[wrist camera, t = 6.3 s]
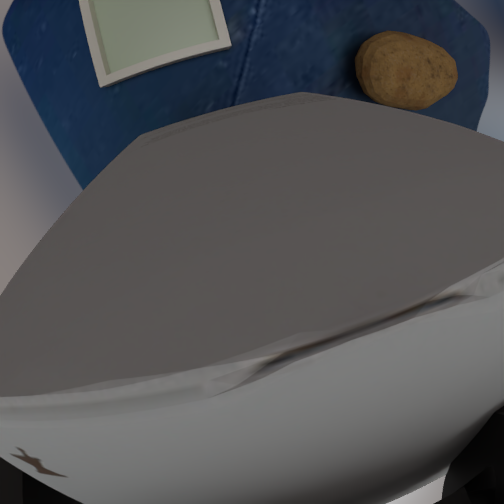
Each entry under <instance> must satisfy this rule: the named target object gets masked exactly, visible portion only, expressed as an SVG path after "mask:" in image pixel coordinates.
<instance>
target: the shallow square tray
mask: <svg viewBox="0 0 504 504" xmlns="http://www.w3.org/2000/svg"><path fill="white" fill-rule="evenodd" d="M79 4H80V9H81V13H82V18H83V23H84V27H85V31H86V36H87V40H88V44H89V48H90V52H91V56H92V60H93V64H94V67H95V71H96V75H97V78H98V82H99V86H100V87H109V86H111V85H114V84H116V83H119V82H121V81H124V80H127V79H129V78H132V77H135V76H137V75H140V74H143V73H146V72H149V71H152V70H155V69H158V68H161V67H164V66H167V65H170V64H173V63H177V62H180V61H184V60H187V59H191V58H194V57H198V56H202V55H206V54H210V53H214V52H218V51H222V50H227V49H230V47H231V46H232V45H231V41H230V38H229V34H228V30H227V26H226V22H225V18H224V15H223V11H222V7H221V3H220V0H79Z"/></svg>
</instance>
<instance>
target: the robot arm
mask: <svg viewBox="0 0 504 504" xmlns="http://www.w3.org/2000/svg"><path fill="white" fill-rule="evenodd" d="M0 504H83V503H81V502H79V501H77V500H75V499H73V498H71V497H69V496H67V495H65V494H63V493H61V492H59V491H57V490H55V489H53V488H51V487H49V486H48V485H46V484H44V483H42V482H40V481H39V480H37V479H35V478H34V477H32V476H30V475H28V474H27V473H25V472H23V471H22V470H20V469H18V468H17V467H15V466H14V465H12V464H11V463H9V462H7V461H6V460H4V459H3V458H1V457H0ZM434 504H504V406H502V407H501V408H500V409H498V410H496V411H495V412H494V413H493V415H492V416H491V417H490V418H489V420H488V421H487V422H486V423H485V425H484V426H483V427H482V428H481V430H480V431H479V432H478V433H477V434H476V436H475V437H474V438H473V439H472V440H471V441H470V443H469V444H468V445H467V446H466V447H465V448H464V449H463V450H462V451H461V453H460V454H459V455H458V456H457V457H456V458H455V459H454V460H453V461H452V462H451V463H450V466H449V469H448V472H447V474H446V477H445V481H444V486H443V492H442V500H440V501H438V502H436V503H434Z"/></svg>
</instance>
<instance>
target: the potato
mask: <svg viewBox="0 0 504 504" xmlns="http://www.w3.org/2000/svg"><path fill="white" fill-rule="evenodd" d="M355 67H356V76H357V78H358V81H359V83H360V85H361V87H362V90H363V92H364V93H365V94H366V95H367V96H369V97H370V98H371V99H372V100H374V101H375V102H377V103H380V104H383V105H386V106H390V107H396V108H402V109H408V110H420V109H425V108H427V107H429V106H430V105H432V104H433V103H435V102H436V101H438V100H439V99H441V98H442V97H444V96H446V95H447V94H448V93H449V92H450V91H451V90H452V89H453V88H454V86H455V83H456V81H457V78H458V74H457V69H456V63H455V60H454V59H453V58H452V57H451V56H450V55H449V54H448V53H447V52H446V51H445V50H444V49H443V48H442V47H440V46H438V45H436V44H434V43H432V42H430V41H428V40H425V39H423V38H420V37H417V36H414V35H411V34H407V33H403V32H396V31H385V32H382V33H379V34H376V35H374V36H373V37H371V38H370V39H368V40H367V41H365V42H364V43H363V44H362V45H361V46H360V48H359V51H358V53H357V55H356V57H355Z"/></svg>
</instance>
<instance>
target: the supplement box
mask: <svg viewBox="0 0 504 504" xmlns="http://www.w3.org/2000/svg"><path fill="white" fill-rule="evenodd" d="M502 406H504V142H503V141H500V140H497V139H495V138H492V137H490V136H487V135H484V134H481V133H479V132H476V131H473V130H470V129H468V128H465V127H462V126H459V125H455V124H452V123H449V122H445V121H442V120H438V119H435V118H431V117H428V116H424V115H420V114H416V113H413V112H409V111H405V110H400V109H396V108H392V107H387V106H383V105H378V104H373V103H368V102H363V101H358V100H352V99H346V98H340V97H334V96H327V95H321V94H314V93H306V92H299V93H293V94H288V95H282V96H277V97H273V98H268V99H263V100H259V101H254V102H250V103H245V104H241V105H237V106H233V107H229V108H225V109H222V110H218V111H214V112H211V113H207V114H204V115H200V116H197V117H193V118H190V119H187V120H184V121H180V122H177V123H174V124H171V125H168V126H165V127H162V128H159V129H156V130H153V131H151V132H148V133H145V134H143V135H140V136H139V137H137V138H136V139H135V140H134V141H133V142H132V143H131V144H130V145H129V146H128V147H126V148H125V149H124V150H123V151H122V152H121V153H120V154H119V155H118V156H117V157H116V158H115V159H114V160H113V161H112V162H111V163H110V164H109V165H108V166H107V167H106V168H105V169H104V170H103V171H102V172H101V173H100V174H99V175H98V176H97V177H96V178H95V179H94V180H93V181H92V182H91V183H90V184H89V185H88V186H87V187H86V188H85V189H84V190H83V191H82V193H81V194H80V195H79V196H78V197H77V198H76V199H75V200H74V201H73V202H72V203H71V204H70V206H69V207H68V208H67V209H66V210H65V211H64V213H63V214H62V215H61V216H60V217H59V218H58V220H57V221H56V222H55V223H54V224H53V226H52V227H51V228H50V230H49V231H48V232H47V233H46V234H45V235H44V237H43V238H42V239H41V240H40V242H39V243H38V244H37V245H36V247H35V248H34V249H33V251H32V252H31V253H30V255H29V256H28V257H27V259H26V260H25V261H24V263H23V264H22V265H21V267H20V268H19V269H18V271H17V272H16V273H15V275H14V276H13V278H12V279H11V281H10V282H9V284H8V285H7V287H6V288H5V290H4V291H3V293H2V294H1V296H0V457H1V458H3V459H4V460H6V461H7V462H9V463H11V464H12V465H14V466H15V467H17V468H18V469H20V470H22V471H23V472H25V473H27V474H28V475H30V476H32V477H34V478H35V479H37V480H39V481H40V482H42V483H44V484H46V485H48V486H49V487H51V488H53V489H55V490H57V491H59V492H61V493H63V494H65V495H67V496H69V497H71V498H73V499H75V500H77V501H79V502H81V503H83V504H386V503H388V502H391V501H393V500H395V499H398V498H400V497H402V496H404V495H406V494H409V493H411V492H413V491H415V490H417V489H419V488H421V487H423V486H425V485H427V484H429V483H431V482H433V481H434V480H437V479H438V478H440V477H442V476H444V475H446V474H447V472H448V469H449V466H450V463H451V462H452V461H453V460H454V459H455V458H456V457H457V456H458V455H459V454H460V453H461V451H462V450H463V449H464V448H465V447H466V446H467V445H468V444H469V443H470V441H471V440H472V439H473V438H474V437H475V436H476V434H477V433H478V432H479V431H480V430H481V428H482V427H483V426H484V425H485V423H486V422H487V421H488V420H489V418H490V417H491V416H492V415H493V413H494V412H495V411H496V410H498V409H500V408H501V407H502Z"/></svg>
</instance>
